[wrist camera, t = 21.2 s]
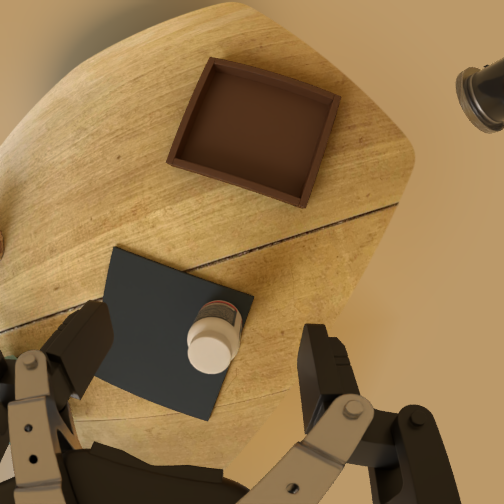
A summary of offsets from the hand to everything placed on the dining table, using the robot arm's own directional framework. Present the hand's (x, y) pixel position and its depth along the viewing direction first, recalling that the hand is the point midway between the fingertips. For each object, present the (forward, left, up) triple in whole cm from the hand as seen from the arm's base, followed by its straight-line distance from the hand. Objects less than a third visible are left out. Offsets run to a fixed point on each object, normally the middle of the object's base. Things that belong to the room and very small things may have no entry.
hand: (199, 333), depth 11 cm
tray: (+2, -14, -22) cm, 26 cm away
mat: (+5, +14, -22) cm, 27 cm away
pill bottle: (-1, +8, -22) cm, 23 cm away
